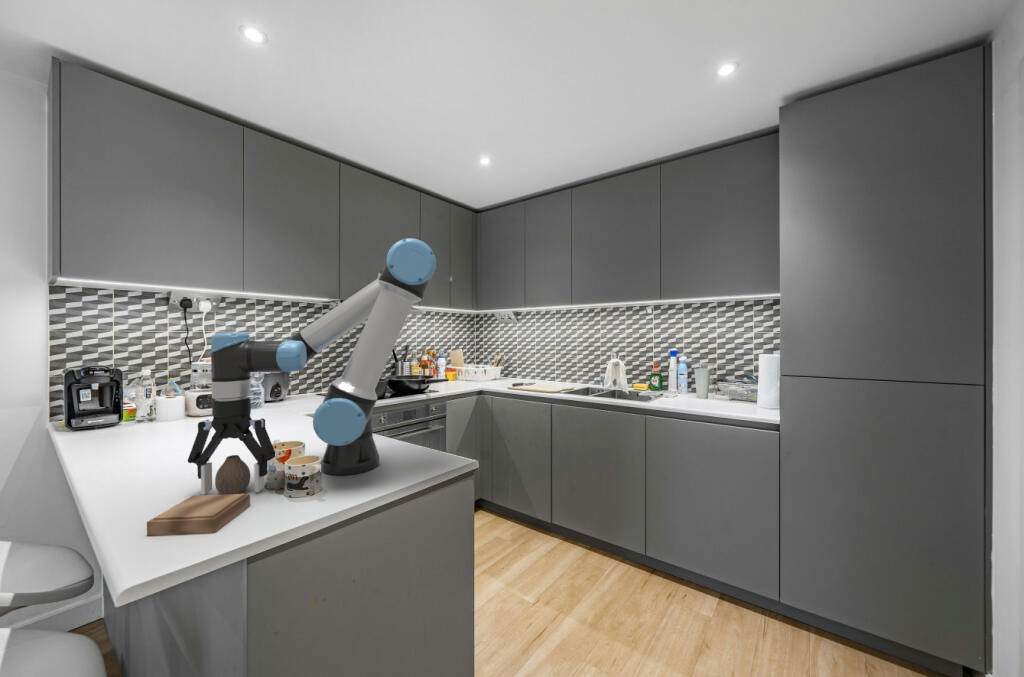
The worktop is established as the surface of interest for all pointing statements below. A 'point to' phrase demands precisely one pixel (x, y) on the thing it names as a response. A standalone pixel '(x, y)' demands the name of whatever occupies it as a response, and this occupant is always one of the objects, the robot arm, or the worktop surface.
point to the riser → (199, 515)
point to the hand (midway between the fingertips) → (233, 490)
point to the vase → (232, 476)
